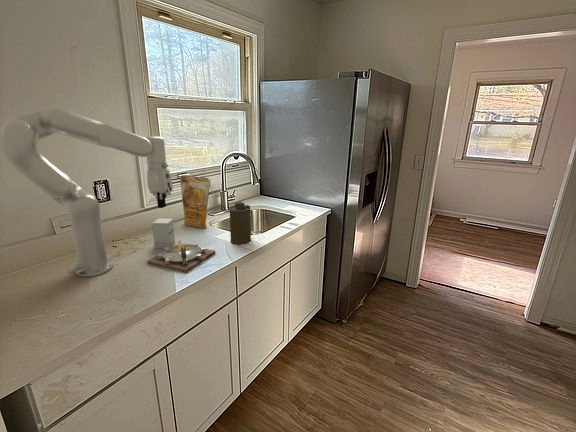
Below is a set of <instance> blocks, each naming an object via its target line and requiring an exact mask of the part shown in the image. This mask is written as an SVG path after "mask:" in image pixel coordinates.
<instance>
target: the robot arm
mask: <svg viewBox="0 0 576 432" xmlns="http://www.w3.org/2000/svg"><path fill="white" fill-rule="evenodd" d="M0 133H1V136H2V137H1V149H2V153H3V155H4V157H5V160H6V161H7V163H8V164H9V165H10V166H12V168H13V169H15V170H16V171H18V172H19V174H21V175H23V176H24V177H25V178H26V179H28V181H30V182H31V183H32V184H33V185H35V186H36V187H37V189H39V190H40V191H41V192H43V194H45V195H47V196H48V197H50V198H51V199H52V200H53V201H55V202H56V203H58V204H59V205H61V206H62V207H63V208H64V209H65V210H66V211H68V213H69V217H70V223H71V225H70V226H71V230H72V235H73V239H74V244H75V249H76V253H77V259H78V262H76V263H75V264H76V265H75V266H74V267H72V268H69V269H67V270H66V273H67V275H69V276H70V275H72V274H74V273H75V275H77V276H78V277H85V278H87V277H95V276H100V275H103V274H106V273H107V272H109V271H111V270H112V269H113V267H114V263H113V261H111V260H108V254H107V249H106V242H105V237H104V231H103V227H102V226H103V225H102V219H101V206H100V203H99V200H98V199H97V197H96V196H94V195H93V194H91V193H89V192H88V191H86V190H85V189H83V188H82V187H81V186H80V185H78V184H77V183H76V182H75V181H74V180H72V178H71V177H70V176H69V175H68V174H67V173H65V172H64V171H62V170H61V169H59V168H58V167H57V166H56V165H54V164H53V163H52V162H50V161H49V160H48V159H47V158H46V157H45V156H44V155H42V153H41V152H40V151H39V148H38V145H37V144H38V140H41V139H44V138H48V137H49V136H53V135H54V134H58V135H62V136H66V137H69V138H72V139H76V140H80V141H83V142H85V143H87V144H88V143H89V144H93V145H96V146H99V147H103V148H104V147H105V148H110V149H115V150H117V151H118V150H119V151H121V152H124V153H127V154H129V155H132V156H136V157H139V158H144V157H146V162H147V163H146V165H147V172H146V173H147V175H146V178H147V187H148V188H147V189H148V191H149V193H150V194H152V195H153V196H154V198H155V199H156V202H157V203H156V204H157V208H158V209H163V208H166V206H167V202H166V199H167V197H168V196H171V195H172V193H171V192H172V191H173V182H172V176H171V172H170V169H168V167H169V165H168V164H167V155H166V146H165V139H164V138H163V137H162V136H157V135H155V136H154V135H153V136H152V135H151V136H145V137H143V136H141V135H138V134H136V133H133V132H130V131H127V130H124V129H121V128H118V127H115V126H112V125H110V124H108V123H104V122H102V121H99V120H96V119H93V118H90V117H88V116H85V115H82V114H79V113H76V112H73V111H70V110H68V109H65V108H62V107H57V106H49V107H45V108H42V109H40V110H37V111H35V112H30V113H28V114H25V115H22V116H18V117H15V118H12V119H8V120H6V121H5V122H4V123H3V124H2V125H1V128H0Z"/></svg>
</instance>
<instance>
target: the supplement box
mask: <svg viewBox="0 0 576 432" xmlns="http://www.w3.org/2000/svg"><path fill="white" fill-rule="evenodd" d="M174 226H175V225H174V219H173V218H157V219H156V220H154V221H153V222H151V227H152V236H153V237H152V238H153V243H154V244H153V246H154V249H161V250H163V248H165V247H168V248H169V247H172V246H174V245H175V244H176V237H175V227H174Z"/></svg>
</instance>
